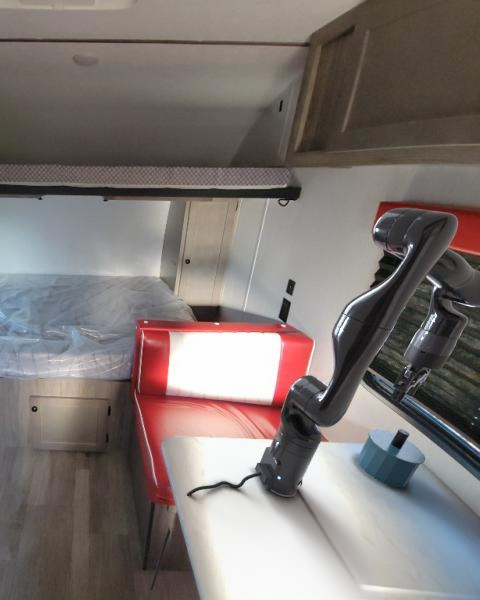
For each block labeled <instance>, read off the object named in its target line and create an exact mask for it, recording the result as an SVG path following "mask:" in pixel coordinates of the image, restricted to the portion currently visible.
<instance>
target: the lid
mask: <svg viewBox="0 0 480 600" xmlns="http://www.w3.org/2000/svg"><path fill="white" fill-rule="evenodd" d="M410 434H411V433H410V432H408V431H407V430H405V429H402V428H399V429H398V430H397V431H396V433H394V432H390V431H388V430H384V429H377V428H376V429H371V430H369V432H368V437H369V438H370V440H371V441H372V442H373V443H374V444H375V445H376V446H377V447H378V448H379V449H381V450H382V451H384V452H385V453H387V454H388V455H390V456H392V457H394V458H396V459H398V460H401V461H404V462H407V463H410V464H420V465H422V464H424V463H425V462H426V456H425V454H424V453H423V451H422V450H421V449H420V448H419V447H418V446H416V445H415V444H414V443H412V442H410V441H409V440H408V439H409V437H410V436H411V435H410Z"/></svg>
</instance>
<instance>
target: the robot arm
mask: <svg viewBox="0 0 480 600" xmlns="http://www.w3.org/2000/svg"><path fill="white" fill-rule="evenodd" d="M458 226H459V220H458V217H457V216H456V215H455V214H453V213H450V212H444V211H438V210H430V209H420V208H416V207H415V208H414V207H395V208H391V209H388V210H387V211H385V212H384V213H383V214H381V216H380V217H378V219H377V220H376V222H375V223H374V225H373V228H372V233H371V237H372V241H373V243H374V244H375V246H376V247H377V248H379V249H381V250H383V251H385V252H388V253H390V254H392V255H394V256H396V257H397V258H399V259H400V260H401V262H400V263H399V264H398V266H397V267H396V268H395V270H394V271H393V272H392V273H391V274H390V275H389V276H388V277H387V278H385V279H384V280H383V281H382V282H380V283H378V284H376V285H375V286H373V287H371V288H369V289H368V290H366V291H365V292H362V293H361V294H359V295H357V296H355V297H354V298H353V299H351V300H350V301H348V302H347V304H345V306H344V307H343V309H342V311H341V312H340V314H339V316H338V317H337V320H336V321H335V323H334V325H333V328H332V330H331V350H332V358H333V369H332V374H331V378H330V379H329V383H328V384H327V383H326V382H324V381H323V380H321V379H320V378H318V377H317V376H314V375H311V374H307V375H302V376H300V377H298V378H297V379H296V380H295V381H293V383H292V384H291V385H290V387H289V389H288V391H287V394H286V395H285V399H284V402H283V405H282V408H281V411H280V413H279V414H280V415H279V421H280V422H279V424H278V427H277V428H276V432H275V434H274V436H273V439H272V441H271V444H270V446H266V447H265V449H264V452H263V453H262V455H261V459H260V461H259V462H256V465H255V467H254V471H255V472H254V473H252V474H249V475H247V476H245V477H243V478H242V480H241V481H240V482H239V483H238V484H234V483H231V482H229V481H227V480H223V481H219V482H216V483H214V484H211V485H210V484H208V485H201V486H197V487H194V488H192V489H191V490H189V491H188V492H187V493H186V496H187V497H190V496H191V495H193V494H195V493H196V492H200V491H203V490H204V491H205V490H211V489H212V490H213V489H215V488H218V487H220V486H224V485H225V486H229V487H231V488H233V489H240V488H241V487H243V486H244V484H245V483H246V482H247V481H248V480H250V479H253V478H256V477H258V478H259V480H260V482H261V483H262V485H263V487H264V488H265V489H264V490H266V491H268V492H271V493H273V494H275V495H277V496H280V497H283V498H293V497H295V495H296V494H297V493H298V489H299V487H300V488H302V485H303V480H304V477H305V474H306V473H307V471H308V468H309V467H310V465H311V462H312V461H313V459H314V456H315V454H316V452H317V450H318V448H319V446H320V445H321V442H322V440H323V433H322V430H321V429H320V428H322V429H328V428H331V427H334V426H335V425H336V424H338V423H339V422H340V421H341V420H342V419H343V417H344V416H345V415H346V413H347V412H348V409H349V408H350V406H351V404H352V401H353V400H354V397H355V395H356V393H357V390H358V389H359V386H360V384H361V382H362V380H363V378H364V376H365V374H366V372H367V371H368V369H369V368H370V366H371V364H372V362H373V361H374V359H375V357H376V356H377V354H378V353H379V351H380V349H381V348H382V347H383V346H384V344H385V342H386V341H387V339H388V337H389V336H390V334H391V332H392V331H393V330H394V328H395V326H396V324H397V322H398V320H399V318H400V317H401V315H402V313H403V311H404V310H405V308H406V307H407V305H408V303H409V302H410V300H411V298H413V295H414V294H415V293H416V291H417V289H418V288H419V286H421V284H422V283H423V281H424V280H425V279H427V280H428V281H429V282H430V283H431V284H432V288H431V294H430V302H429V303H430V304H429V307H428V313H427V315H426V317H425V318H424V320H423V322H422V324H421V325H420V327H419V328H418V330H417V331H416V332H415V334H414V336H413V337H412V339H411V341H410V343H409V344H408V346H407V348H406V351H405V352H404V353H403V357H404V359H405V360H406V361H409V363H410V364H409V365H405V367H403V368H402V369H401V372H400V374H399V375H398V377H397V379H396V380H395V382H394V383H393V385H392V388H394V390H393V392H392V393H391V395H390V397H389V399H390V400H391V401H392V402H394V403H397V404H400V403H402V402H403V400H404V398H405V396H406V395H407V396H408V397H413V396H414V395H415V394H416V392H417V390H418V388H419V387H420V386H422V385H423V383H425V382H426V381H427V379H428V377H429V375H430V373H431V371H433V370H434V371H440V370H442V369H443V367H444V365H445V363H446V362H447V361H448V359H449V357H450V356H451V354H452V352H453V351H454V349H455V347H456V346H457V341H458V340H459V338H460V336H461V334H462V333H463V331H464V329H465V328H466V327H467V324H468V323H469V318H468V317H467V315H465V314H464V313H461V312H460V311H458V310H457V309H455V308H454V307H453V303H452V302H454V303H456V304H457V303H458V304H461V305H464V306H468V307H471V308H480V271H479V270H477V269H475V268H473V267H472V266H471V265H470V264H469V263H468V261H467V260H466V259H465V258H464V257H463V256H462V255H461V254H459V253H457V252H456V251H454V250H453V249H450V248H449V246H450V245H451V243H452V241H453V239H454V238H455V236H456V234H457V230H458V228H459V227H458ZM402 384H405V385H404V386H403V385H402ZM170 535H171V529H170V527H168V528H167V531H166V534H165V537H164V539H163V544H162V547H161V550H160V554H159V557H158V560H157V563H156V568H155V570H154V571H155V572H154V575H153V578H152V580H151V581H152V582H151V584H150V586H149V589H150V591H153V590H154V588H155V584H156V581H157V577H158V575H159V571H160V567H161V565H162V561H163V557H164V553H165V550H166V547H167V544H168V541H169V537H170Z"/></svg>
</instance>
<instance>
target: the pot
mask: <svg viewBox="0 0 480 600" xmlns="http://www.w3.org/2000/svg"><path fill="white" fill-rule="evenodd" d="M356 461H357V463H358V466H359V467H360V468H361V469H362V470H363V471H364V472H365V473H366V474H368V475H369V476H370V477H372V478H373V479H374V480H377V481H378V482H380V483H382V484H383V485H387V486H389V487H393V488H404V487H406V486H407V485H408V483H409V482H410V480H411V479H412V477H413V476H414V475H415V472H416V471H417V470H418V468H419V467H420V465H421V464H410V463H407V462H404V461H401V460H398V459H396V458H394V457H392V456H390V455H388V454H387V453H385V452H384V451H382V450H381V449H379V448H378V447H377V446H376V445H375V444H374V443H373V442H372V441H371V440H370V438H369V436H368V437H367V439H366V441H365V443H364V444H363V446H362V448H361V450H360V451H359V453H358V455H357V457H356Z"/></svg>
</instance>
